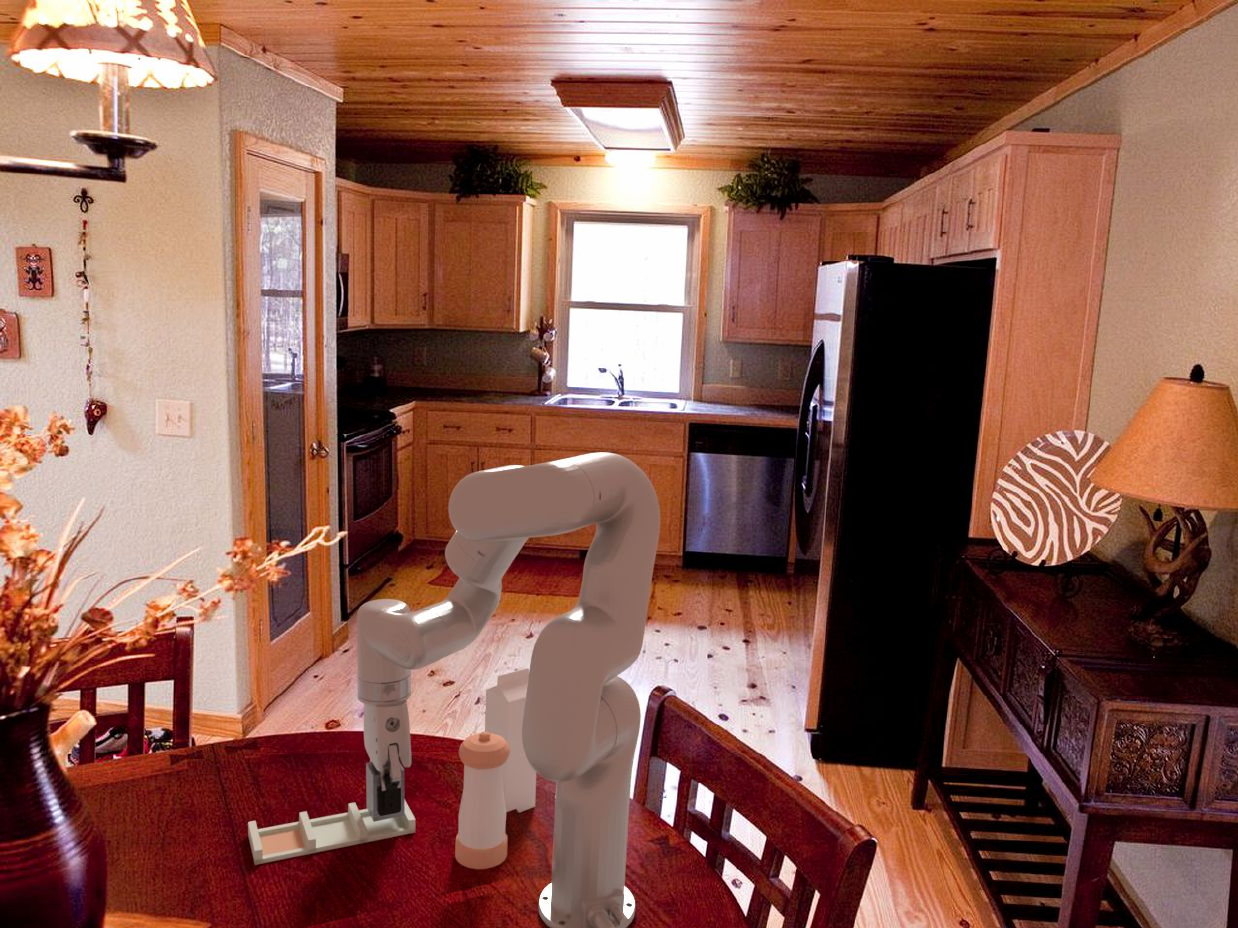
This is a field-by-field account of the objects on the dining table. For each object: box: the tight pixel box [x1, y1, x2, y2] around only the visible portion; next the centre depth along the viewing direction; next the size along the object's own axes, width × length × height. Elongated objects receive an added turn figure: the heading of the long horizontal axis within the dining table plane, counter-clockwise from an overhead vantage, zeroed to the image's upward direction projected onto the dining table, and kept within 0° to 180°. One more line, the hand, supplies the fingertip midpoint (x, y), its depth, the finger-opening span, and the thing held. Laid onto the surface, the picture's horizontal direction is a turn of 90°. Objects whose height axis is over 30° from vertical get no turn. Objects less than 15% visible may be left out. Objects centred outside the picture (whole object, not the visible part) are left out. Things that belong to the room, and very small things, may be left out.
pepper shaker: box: [454, 730, 510, 870], centre depth 133 cm, size 7×7×19 cm
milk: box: [484, 667, 537, 813], centre depth 148 cm, size 6×6×22 cm
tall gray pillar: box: [365, 761, 405, 822], centre depth 140 cm, size 4×4×7 cm
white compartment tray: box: [247, 798, 416, 866], centre depth 138 cm, size 8×22×3 cm, turn 117°
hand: (385, 803), depth 140 cm, fingers closed on tall gray pillar, 4 cm apart
